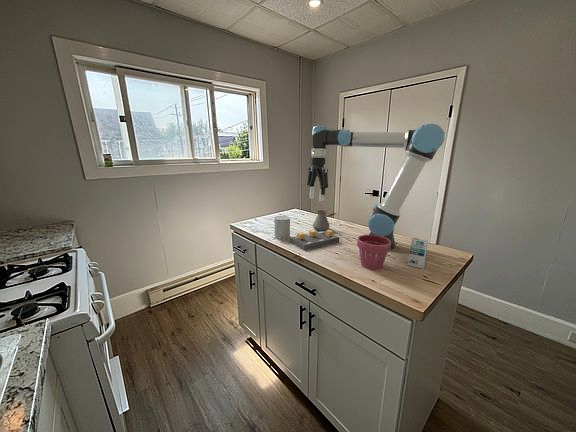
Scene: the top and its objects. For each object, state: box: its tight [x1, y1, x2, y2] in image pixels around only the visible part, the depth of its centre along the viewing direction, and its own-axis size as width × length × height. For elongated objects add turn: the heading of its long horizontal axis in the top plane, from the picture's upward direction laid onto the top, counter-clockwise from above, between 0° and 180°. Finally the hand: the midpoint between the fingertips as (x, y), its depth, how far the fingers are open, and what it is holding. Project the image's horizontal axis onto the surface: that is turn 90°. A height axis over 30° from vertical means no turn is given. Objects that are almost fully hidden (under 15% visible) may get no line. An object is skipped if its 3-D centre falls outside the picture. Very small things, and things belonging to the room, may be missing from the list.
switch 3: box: [325, 229, 334, 237], centre depth 138 cm, size 3×3×3 cm
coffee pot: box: [312, 209, 337, 232], centre depth 154 cm, size 21×12×15 cm, turn 26°
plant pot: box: [356, 234, 391, 271], centre depth 107 cm, size 14×14×13 cm
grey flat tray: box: [289, 230, 340, 251], centre depth 137 cm, size 14×25×3 cm, turn 122°
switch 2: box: [308, 229, 318, 237], centre depth 138 cm, size 3×3×3 cm
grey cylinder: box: [273, 215, 291, 241], centre depth 144 cm, size 10×10×12 cm
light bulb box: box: [407, 237, 429, 269], centre depth 111 cm, size 11×7×11 cm, turn 148°
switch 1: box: [296, 231, 306, 239], centre depth 133 cm, size 3×3×3 cm
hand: (316, 199), depth 131 cm, fingers open, 8 cm apart
